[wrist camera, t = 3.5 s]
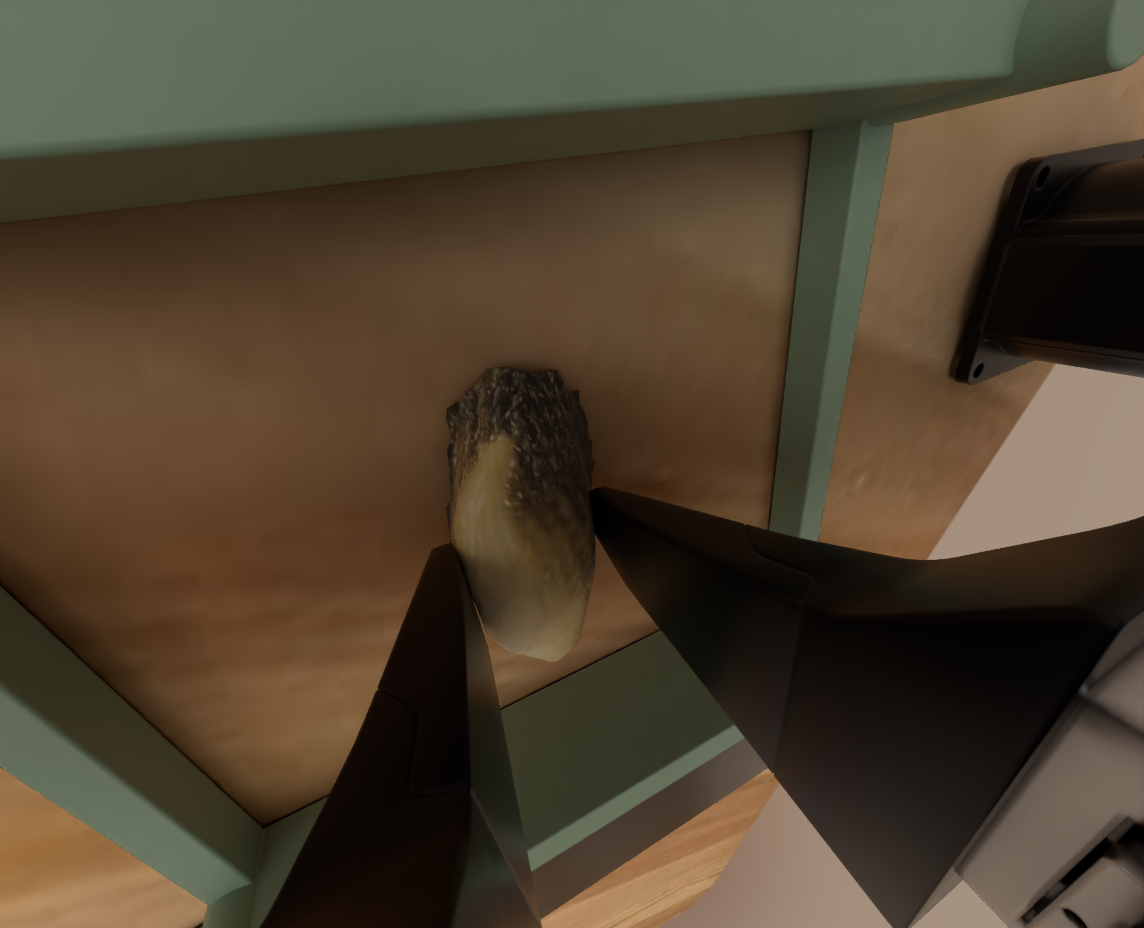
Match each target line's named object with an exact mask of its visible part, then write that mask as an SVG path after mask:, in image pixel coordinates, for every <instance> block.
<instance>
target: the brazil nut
mask: <svg viewBox="0 0 1144 928" xmlns="http://www.w3.org/2000/svg"><path fill="white" fill-rule="evenodd" d="M446 421H447V423H448V426H449V428H450V432H451V442H450V445H449V448H448V450H447V452H448V458H449V467H450V488H451V499H450V501H449V503H448V506H447V515H448V523H449V530H450V537H451V539H450V543H452V544H453V545H454V548H455V551H456V552H457V557H458V560H459V563H460V566H461V569H462V572H463V575H464V578H465V580H466V583H467V586H468V589H469V592H470V595H471V597H472V599H473V601H474V603H475V605H476V607H477V610H478V612H479V615H480V617H481V621H482V624H483V627H484V629H485V631H486V632H487V634H488V635H489V637H490V638H491V639H492V640H493V641H494V642H495V643H497V644H498V645H499V646H501V647H502V648H503V649H505V650H506V651H508V652H510V653H514V654H521V655H525V656H529V657H534V658H539V659H542V660H545V661H548V662H552V663H553V662H556V661H558V660H560V659H561V658H563V657H564V656H566V655H567V654H568V653H569V652H570V651H571V650H572V649H573V648H574V647H575V645H576V643H577V642H578V639H579V636H580V634H581V631H582V627H583V621H584V616H585V611H586V607H587V603H588V598H589V593H590V588H591V583H592V579H593V575H594V569H595V532H594V522H593V512H592V505H591V501H590V497H589V491H590V490H591V487H592V476H591V473H592V470H593V467H594V463H595V461H594V460H593V459H592V458H591V455H592V441H591V440H590V439H589V435H588V426H587V420H586V416H585V412H584V411H583V409H582V407H581V405H580V404H579V390H576V391H566V390H563V380H562V378H561V376H560V374H559V373H558V371H557V370H547V371H545V372H543V373H542V374H540V375H538V374H534V373H530V372H526V371H523V370H519V369H512V368H492V369H485V370H484V372H483V374H482V376H481V378H480V379H479V381H478V383H477V384H476V385H475V386H473V387H472V388H470V389H469V390H467V391H466V392H465V393H464V395H463V396H462V398H461V399H459V400H458V401H457V402H455V403H454V404H453V405H452V406H450V407H449V408H448V409H447V418H446Z"/></svg>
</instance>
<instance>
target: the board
mask: <svg viewBox="0 0 1144 928" xmlns="http://www.w3.org/2000/svg"><path fill="white" fill-rule="evenodd" d="M767 768H768V767H767V766H766V764H765V763H764V762H763V761H762V759H761V758H760V757H759V755H758V754H757V753H756V752H755V750H754V749H753V748H752V746H751V745H750V744H749V743H748V741H747V740H746V739H745V738H744V739H742V740H740V741H739V742H737V743H736V744H734V745H732V746H731V747H729V748H728V749H726V750H724V751H723V752H721V753H720V754H718V755H716V756H715V757H713V758H712V759H710V760H708V761H707V762H705V763H704V764H702V765H700V766H699V767H697V768H696V769H694V770H692V771H691V772H689V773H688V774H686V775H685V776H683V777H681V778H680V779H678V780H677V781H675V782H673V783H672V784H670V785H669V786H667V787H665V788H664V789H662V790H661V791H659V792H657V793H656V794H654V795H653V796H651V797H649V798H648V799H646V800H645V801H643V802H641V803H640V804H638V805H637V806H635V807H633V808H632V809H630V810H629V811H627V812H626V813H624V814H622V815H621V816H619V817H618V818H616V819H614V820H613V821H611V822H610V823H608V824H606V825H605V826H603V827H602V828H600V829H598V830H597V831H595V832H594V833H592V834H590V835H589V836H587V837H586V838H584V839H582V840H581V841H579V842H578V843H576V844H574V845H573V846H571V847H570V848H568V849H567V850H565V851H563V852H562V853H560V854H559V855H557V856H555V857H554V858H552V859H551V860H549V861H547V862H546V863H544V864H543V865H541V866H539V867H538V868H536V869H535V870H533V871H531V873H532V879H533V884H534V889H535V894H536V899H537V905H538V910H539V915H540V919H542V918H543V917H545V916H546V915H548V914H549V913H551V912H552V911H554V910H555V909H557V908H558V907H560V906H561V905H563V904H564V903H566V902H567V901H569V900H570V899H572V898H573V897H575V896H576V895H578V894H579V893H581V892H582V891H584V890H585V889H587V888H588V887H590V886H591V885H593V884H594V883H596V882H597V881H599V880H600V879H602V878H603V877H605V876H606V875H608V874H609V873H611V872H612V871H614V870H615V869H617V868H618V867H620V866H621V865H623V864H624V863H626V862H627V861H629V860H630V859H632V858H633V857H635V856H636V855H638V854H639V853H641V852H642V851H644V850H645V849H647V848H648V847H650V846H651V845H653V844H654V843H656V842H657V841H659V840H660V839H662V838H663V837H665V836H666V835H668V834H669V833H671V832H672V831H674V830H675V829H677V828H678V827H680V826H681V825H683V824H684V823H686V822H687V821H689V820H690V819H692V818H693V817H695V816H697V815H698V814H700V813H701V812H703V811H704V810H706V809H707V808H709V807H710V806H712V805H713V804H715V803H716V802H718V801H719V800H721V799H722V798H724V797H725V796H727V795H728V794H730V793H731V792H733V791H734V790H736V789H737V788H739V787H740V786H742V785H743V784H745V783H746V782H748V781H749V780H751V779H752V778H754V777H755V776H757V775H758V774H760V773H761V772H763V771H764V770H766V769H767ZM202 927H203V926H201V927H199V928H202Z"/></svg>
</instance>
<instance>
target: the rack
mask: <svg viewBox="0 0 1144 928" xmlns="http://www.w3.org/2000/svg"><path fill="white" fill-rule="evenodd" d="M1143 54H1144V0H0V223H8V222H16V221H25V220H33V219H42V218H51V217H59V216H68V215H77V214H85V213H94V212H102V211H111V210H120V209H128V208H137V207H146V206H154V205H163V204H172V203H180V202H189V201H197V200H206V199H215V198H223V197H232V196H241V195H249V194H258V193H266V192H275V191H284V190H292V189H301V188H310V187H318V186H327V185H336V184H344V183H353V182H361V181H370V180H379V179H387V178H396V177H405V176H413V175H422V174H430V173H439V172H448V171H456V170H465V169H474V168H482V167H491V166H500V165H508V164H517V163H525V162H534V161H543V160H551V159H560V158H569V157H577V156H586V155H594V154H603V153H612V152H620V151H629V150H638V149H646V148H655V147H663V146H672V145H681V144H689V143H698V142H707V141H715V140H724V139H733V138H741V137H750V136H758V135H767V134H776V133H784V132H793V131H802V130H810V129H812V131H813V134H812V142H811V151H810V160H809V169H808V178H807V187H806V197H805V206H804V215H803V224H802V233H801V242H800V252H799V261H798V270H797V279H796V288H795V297H794V307H793V316H792V325H791V334H790V343H789V352H788V362H787V371H786V380H785V389H784V398H783V407H782V417H781V426H780V435H779V444H778V453H777V462H776V472H775V481H774V490H773V499H772V508H771V517H770V527H769V530H770V531H774V532H778V533H782V534H786V535H790V536H794V537H799V538H803V539H808V540H812V541H817V542H818V538H819V532H820V527H821V521H822V516H823V510H824V505H825V499H826V494H827V488H828V483H829V477H830V472H831V466H832V461H833V455H834V450H835V444H836V439H837V433H838V428H839V422H840V417H841V411H842V406H843V400H844V395H845V389H846V384H847V378H848V373H849V367H850V362H851V356H852V351H853V345H854V340H855V334H856V329H857V323H858V318H859V312H860V307H861V301H862V296H863V290H864V285H865V279H866V274H867V268H868V263H869V257H870V252H871V246H872V241H873V235H874V230H875V224H876V219H877V213H878V208H879V202H880V197H881V191H882V186H883V180H884V175H885V169H886V164H887V158H888V153H889V147H890V142H891V136H892V131H893V125H894V123H898V122H902V121H907V120H911V119H915V118H919V117H924V116H928V115H932V114H936V113H941V112H945V111H949V110H953V109H958V108H962V107H966V106H970V105H975V104H979V103H983V102H987V101H992V100H996V99H1000V98H1005V97H1009V96H1013V95H1017V94H1022V93H1026V92H1030V91H1034V90H1039V89H1043V88H1047V87H1051V86H1056V85H1060V84H1064V83H1068V82H1073V81H1077V80H1081V79H1085V78H1090V77H1094V76H1098V75H1103V74H1107V73H1111V72H1115V71H1120V70H1122V69H1124V68H1126V67H1128V66H1130V65H1132V64H1133V63H1134V62H1136V61H1137V60H1138V59H1139V58H1140V57H1141V56H1142V55H1143ZM500 712H501V717H502V722H503V727H504V733H505V738H506V743H507V748H508V753H509V759H510V764H511V769H512V774H513V780H514V785H515V790H516V795H517V800H518V806H519V811H520V816H521V821H522V826H523V832H524V837H525V842H526V847H527V853H528V858H529V863H530V868H531V871H533V870H535V869H536V868H538V867H539V866H541V865H543V864H544V863H546V862H547V861H549V860H551V859H552V858H554V857H555V856H557V855H559V854H560V853H562V852H563V851H565V850H567V849H568V848H570V847H571V846H573V845H574V844H576V843H578V842H579V841H581V840H582V839H584V838H586V837H587V836H589V835H590V834H592V833H594V832H595V831H597V830H598V829H600V828H602V827H603V826H605V825H606V824H608V823H610V822H611V821H613V820H614V819H616V818H618V817H619V816H621V815H622V814H624V813H626V812H627V811H629V810H630V809H632V808H633V807H635V806H637V805H638V804H640V803H641V802H643V801H645V800H646V799H648V798H649V797H651V796H653V795H654V794H656V793H657V792H659V791H661V790H662V789H664V788H665V787H667V786H669V785H670V784H672V783H673V782H675V781H677V780H678V779H680V778H681V777H683V776H685V775H686V774H688V773H689V772H691V771H692V770H694V769H696V768H697V767H699V766H700V765H702V764H704V763H705V762H707V761H708V760H710V759H712V758H713V757H715V756H716V755H718V754H720V753H721V752H723V751H724V750H726V749H728V748H729V747H731V746H732V745H734V744H736V743H737V742H739V741H740V740H742V739H744V738H745V737H744V736H743V735H742V734H741V732H740V731H739V730H738V728H737V727H736V726H735V725H734V723H733V722H732V721H731V719H730V718H729V717H728V716H727V714H726V713H725V712H724V710H723V709H722V708H721V707H720V705H719V704H718V703H717V701H716V700H715V699H714V698H713V696H712V695H711V694H710V692H709V691H708V690H707V689H706V687H705V686H704V685H703V683H702V682H701V681H700V680H699V678H698V677H697V676H696V674H695V673H694V672H693V671H692V669H691V668H690V667H689V665H688V664H687V663H686V662H685V660H684V659H683V658H682V656H681V655H680V654H679V653H678V651H677V650H676V649H675V647H674V646H673V645H672V644H671V642H670V641H669V640H668V638H667V637H666V636H665V635H664V633H663V632H662V631H661V630H660V631H658V632H656V633H654V634H652V635H650V636H648V637H646V638H644V639H642V640H640V641H638V642H636V643H634V644H632V645H630V646H628V647H626V648H624V649H622V650H620V651H618V652H616V653H614V654H612V655H610V656H608V657H606V658H604V659H602V660H600V661H598V662H596V663H594V664H592V665H590V666H588V667H586V668H584V669H582V670H580V671H578V672H576V673H574V674H572V675H570V676H568V677H566V678H564V679H562V680H560V681H558V682H556V683H554V684H552V685H550V686H548V687H546V688H544V689H542V690H540V691H538V692H536V693H534V694H532V695H530V696H528V697H526V698H524V699H522V700H520V701H518V702H516V703H514V704H512V705H510V706H508V707H506V708H504V709H502V710H500ZM0 768H2V769H3V770H5V771H7V772H8V773H10V774H11V775H13V776H14V777H16V778H17V779H19V780H20V781H22V782H23V783H25V784H26V785H28V786H29V787H31V788H32V789H34V790H35V791H37V792H38V793H40V794H41V795H43V796H44V797H46V798H47V799H49V800H50V801H52V802H53V803H55V804H56V805H58V806H59V807H61V808H62V809H64V810H65V811H67V812H68V813H70V814H71V815H73V816H74V817H76V818H78V819H79V820H81V821H82V822H84V823H85V824H87V825H88V826H90V827H91V828H93V829H94V830H96V831H97V832H99V833H100V834H102V835H103V836H105V837H106V838H108V839H109V840H111V841H112V842H114V843H115V844H117V845H118V846H120V847H121V848H123V849H124V850H126V851H127V852H129V853H130V854H132V855H133V856H135V857H136V858H138V859H139V860H141V861H142V862H144V863H145V864H147V865H148V866H150V867H152V868H153V869H155V870H156V871H158V872H159V873H161V874H162V875H164V876H165V877H167V878H168V879H170V880H171V881H173V882H174V883H176V884H177V885H179V886H180V887H182V888H183V889H185V890H186V891H188V892H189V893H191V894H192V895H194V896H195V897H197V898H198V899H200V900H201V901H203V902H204V903H206V904H207V910H206V914H205V918H204V923H203V927H202V928H259V926H260V925H261V923H262V921H263V920H264V918H265V917H266V915H267V913H268V911H269V910H270V908H271V906H272V904H273V902H274V900H275V899H276V897H277V895H278V893H279V891H280V889H281V887H282V885H283V883H284V881H285V879H286V878H287V876H288V874H289V872H290V870H291V868H292V866H293V864H294V862H295V860H296V858H297V856H298V854H299V852H300V850H301V848H302V846H303V844H304V842H305V841H306V839H307V837H308V835H309V833H310V831H311V829H312V827H313V825H314V823H315V821H316V819H317V817H318V815H319V813H320V811H321V809H322V807H323V805H324V804H325V802H326V800H327V798H328V797H326V798H324V799H322V800H320V801H318V802H316V803H314V804H312V805H310V806H308V807H306V808H304V809H302V810H300V811H298V812H296V813H294V814H292V815H290V816H288V817H286V818H284V819H282V820H280V821H278V822H276V823H274V824H272V825H270V826H268V827H266V828H262V827H261V826H260V825H259V824H257V823H256V822H255V821H254V820H253V819H252V818H251V817H250V816H249V815H248V814H247V813H246V812H244V811H243V810H242V809H241V808H240V807H239V806H238V805H237V804H236V803H235V802H234V801H233V800H231V799H230V798H229V797H228V796H227V795H226V794H225V793H224V792H223V791H222V790H221V789H220V788H218V787H217V786H216V785H215V784H214V783H213V782H212V781H211V780H210V779H209V778H208V777H207V776H205V775H204V774H203V773H202V772H201V771H200V770H199V769H198V768H197V767H196V766H195V765H194V764H192V763H191V762H190V761H189V760H188V759H187V758H186V757H185V756H184V755H183V754H182V753H181V752H180V751H178V750H177V749H176V748H175V747H174V746H173V745H172V744H171V743H170V742H169V741H168V740H167V739H165V738H164V737H163V736H162V735H161V734H160V733H159V732H158V731H157V730H156V729H155V728H154V727H152V726H151V725H150V724H149V723H148V722H147V721H146V720H145V719H144V718H143V717H142V716H141V715H139V714H138V713H137V712H136V711H135V710H134V709H133V708H132V707H131V706H130V705H129V704H128V703H126V702H125V701H124V700H123V699H122V698H121V697H120V696H119V695H118V694H117V693H116V692H115V691H113V690H112V689H111V688H110V687H109V686H108V685H107V684H106V683H105V682H104V681H103V680H102V679H101V678H99V677H98V676H97V675H96V674H95V673H94V672H93V671H92V670H91V669H90V668H89V667H88V666H86V665H85V664H84V663H83V662H82V661H81V660H80V659H79V658H78V657H77V656H76V655H75V654H73V653H72V652H71V651H70V650H69V649H68V648H67V647H66V646H65V645H64V644H63V643H62V642H60V641H59V640H58V639H57V638H56V637H55V636H54V635H53V634H52V633H51V632H50V631H49V630H47V629H46V628H45V627H44V626H43V625H42V624H41V623H40V622H39V621H38V620H37V619H36V618H34V617H33V616H32V615H31V614H30V613H29V612H28V611H27V610H26V609H25V608H24V607H23V606H22V605H20V604H19V603H18V602H17V601H16V600H15V599H14V598H13V597H12V596H11V595H10V594H9V593H7V592H6V591H5V590H4V589H3V588H2V587H1V586H0Z"/></svg>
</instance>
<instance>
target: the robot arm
mask: <svg viewBox="0 0 1144 928" xmlns="http://www.w3.org/2000/svg"><path fill="white" fill-rule="evenodd" d="M1033 360H1039V361H1045V362H1051V363H1057V364H1063V365H1070V366H1076V367H1082V368H1088V369H1095V370H1100V371H1106V372H1112V373H1118V374H1125V375H1131V376H1137V377H1143V378H1144V139H1139V140H1133V141H1127V142H1121V143H1116V144H1110V145H1105V146H1099V147H1093V148H1088V149H1082V150H1076V151H1071V152H1065V153H1059V154H1054V155H1048V156H1043V157H1037V158H1031V159H1029V160H1027V161H1026V162H1025V163H1024V164H1023V165H1022V166H1021V168H1020V170H1019V171H1018V173H1017V175H1016V178H1015V180H1014V183H1013V186H1012V189H1011V192H1010V196H1009V199H1008V202H1007V206H1006V209H1005V212H1004V215H1003V219H1002V222H1001V225H1000V228H999V232H998V235H997V238H996V241H995V245H994V248H993V251H992V254H991V258H990V261H989V264H988V267H987V271H986V274H985V277H984V280H983V284H982V287H981V290H980V293H979V297H978V300H977V303H976V307H975V310H974V313H973V316H972V320H971V323H970V326H969V329H968V333H967V336H966V339H965V342H964V346H963V349H962V352H961V355H960V359H959V362H958V365H957V368H956V372H955V381H957V382H959V383H963V384H968V385H974V384H977V383H979V382H982V381H984V380H987V379H989V378H992V377H994V376H997V375H999V374H1001V373H1004V372H1006V371H1009V370H1011V369H1014V368H1016V367H1019V366H1021V365H1024V364H1026V363H1029V362H1031V361H1033ZM589 497H590V501H591V505H592V512H593V522H594V532H595V535H596V536H597V538H598V540H599V541H600V543H601V545H602V546H603V548H604V550H605V551H606V553H607V555H608V556H609V558H610V560H611V561H612V563H613V565H614V566H615V568H616V570H617V571H618V573H619V575H620V576H621V578H622V579H623V581H624V583H625V584H626V585H627V587H628V588H629V590H630V591H631V592H632V594H633V595H634V596H635V597H636V599H637V600H638V601H639V603H640V604H641V605H642V606H643V608H644V609H645V610H646V612H647V613H648V614H649V615H650V617H651V618H652V619H653V621H654V622H655V623H656V624H657V626H658V627H659V628H660V629H661V631H662V632H663V633H664V635H665V636H666V637H667V638H668V640H669V641H670V642H671V644H672V645H673V646H674V647H675V649H676V650H677V651H678V653H679V654H680V655H681V656H682V658H683V659H684V660H685V662H686V663H687V664H688V665H689V667H690V668H691V669H692V671H693V672H694V673H695V674H696V676H697V677H698V678H699V680H700V681H701V682H702V683H703V685H704V686H705V687H706V689H707V690H708V691H709V692H710V694H711V695H712V696H713V698H714V699H715V700H716V701H717V703H718V704H719V705H720V707H721V708H722V709H723V710H724V712H725V713H726V714H727V716H728V717H729V718H730V719H731V721H732V722H733V723H734V725H735V726H736V727H737V728H738V730H739V731H740V732H741V734H742V735H743V736H744V737H745V739H746V740H747V741H748V743H749V744H750V745H751V746H752V748H753V749H754V750H755V752H756V753H757V754H758V755H759V757H760V758H761V759H762V761H763V762H764V763H765V764H766V766H767V767H768V768H769V770H770V771H771V772H772V773H774V776H775V778H776V779H777V780H778V782H779V783H780V784H781V785H782V787H783V788H784V789H785V790H786V792H787V793H788V794H789V796H790V797H791V798H792V799H793V801H794V802H795V803H796V805H797V806H798V807H799V808H800V810H801V811H802V812H803V813H804V815H805V816H806V817H807V819H808V820H809V821H810V823H811V824H812V825H813V826H814V827H815V829H816V830H817V832H818V833H819V834H820V835H821V836H822V838H823V839H824V841H825V842H826V843H827V844H828V846H829V847H830V848H831V850H832V851H833V852H834V853H835V855H836V856H837V857H838V859H839V860H840V861H841V862H842V864H843V865H844V866H845V868H846V869H847V870H848V871H849V873H850V874H851V875H852V876H853V878H854V879H855V880H856V882H857V883H858V884H859V886H860V887H861V888H862V889H863V891H864V892H865V893H866V895H867V896H868V897H869V898H870V900H871V901H872V902H873V903H874V905H875V906H876V907H877V909H878V910H879V911H880V913H881V914H882V915H883V916H884V918H885V919H886V920H887V921H888V923H889V924H890V925H891V926H892V927H893V928H911V927H912V926H913V925H915V924H916V923H917V922H918V921H919V920H920V919H921V918H922V917H923V916H924V915H925V914H926V913H928V912H929V911H930V910H931V909H932V908H933V907H934V906H935V905H936V904H937V903H938V902H939V901H941V900H942V899H943V898H944V897H945V896H946V895H947V894H948V893H949V892H950V891H951V890H952V889H954V888H955V886H957V885H958V884H959V883H960V882H961V881H962V880H964V881H965V882H966V883H967V884H968V885H969V886H970V888H972V890H973V891H974V892H975V893H976V894H977V895H978V896H979V897H980V898H981V899H982V900H983V901H984V902H985V903H986V904H987V905H988V906H989V907H990V908H991V909H992V910H993V911H994V912H995V913H996V914H997V916H998V917H999V918H1000V919H1001V920H1002V921H1003V922H1004V923H1005V924H1006V925H1007V926H1008V927H1009V928H1144V516H1142V517H1139V518H1136V519H1133V520H1130V521H1127V522H1123V523H1119V524H1115V525H1112V526H1108V527H1103V528H1099V529H1094V530H1091V531H1085V532H1080V533H1075V534H1070V535H1065V536H1060V537H1055V538H1050V539H1045V540H1040V541H1035V542H1030V543H1025V544H1020V545H1015V546H1010V547H1005V548H1000V549H995V550H990V551H985V552H980V553H975V554H970V555H964V556H960V557H955V558H949V559H939V560H913V559H904V558H898V557H892V556H887V555H882V554H877V553H872V552H867V551H862V550H857V549H852V548H847V547H842V546H837V545H832V544H827V543H822V542H817V541H812V540H808V539H803V538H799V537H794V536H790V535H786V534H782V533H778V532H774V531H770V530H766V529H762V528H758V527H755V526H751V525H745V526H744V524H743V523H740V522H736V521H732V520H729V519H725V518H721V517H718V516H714V515H710V514H706V513H703V512H699V511H695V510H692V509H688V508H684V507H681V506H677V505H673V504H670V503H666V502H662V501H659V500H655V499H651V498H648V497H644V496H640V495H637V494H633V493H629V492H626V491H622V490H618V489H615V488H611V487H607V486H601V487H598V488H596V489H593V490H590V491H589ZM259 928H542V925H541V920H540V915H539V910H538V905H537V899H536V894H535V889H534V884H533V879H532V873H531V868H530V863H529V858H528V853H527V847H526V842H525V837H524V832H523V826H522V821H521V816H520V811H519V806H518V800H517V795H516V790H515V785H514V780H513V774H512V769H511V764H510V759H509V753H508V748H507V743H506V738H505V733H504V727H503V722H502V717H501V712H500V707H499V701H498V696H497V691H496V686H495V680H494V675H493V670H492V665H491V660H490V655H489V650H488V646H487V642H486V639H485V636H484V633H483V630H482V627H481V624H480V621H479V618H478V615H477V612H476V609H475V606H474V603H473V600H472V597H471V595H470V592H469V589H468V586H467V583H466V580H465V578H464V575H463V572H462V569H461V566H460V563H459V560H458V557H457V554H456V551H455V548H454V545H453V544H452V543H447V544H444V545H442V546H439V547H436V548H434V549H432V550H431V552H430V555H429V557H428V560H427V562H426V565H425V568H424V570H423V573H422V575H421V578H420V580H419V583H418V585H417V588H416V590H415V593H414V596H413V598H412V601H411V603H410V606H409V608H408V611H407V613H406V616H405V618H404V621H403V624H402V626H401V629H400V631H399V634H398V636H397V639H396V641H395V644H394V647H393V649H392V652H391V654H390V657H389V659H388V662H387V664H386V667H385V669H384V672H383V675H382V677H381V680H380V682H379V685H378V690H377V691H376V692H375V694H374V697H373V699H372V702H371V705H370V707H369V710H368V712H367V714H366V717H365V719H364V722H363V724H362V726H361V729H360V731H359V733H358V736H357V738H356V740H355V743H354V745H353V747H352V749H351V751H350V753H349V755H348V757H347V759H346V761H345V763H344V766H343V768H342V770H341V772H340V774H339V776H338V778H337V780H336V782H335V784H334V786H333V788H332V790H331V792H330V794H329V796H328V798H327V800H326V802H325V804H324V805H323V807H322V809H321V811H320V813H319V815H318V817H317V819H316V821H315V823H314V825H313V827H312V829H311V831H310V833H309V835H308V837H307V839H306V841H305V842H304V844H303V846H302V848H301V850H300V852H299V854H298V856H297V858H296V860H295V862H294V864H293V866H292V868H291V870H290V872H289V874H288V876H287V878H286V879H285V881H284V883H283V885H282V887H281V889H280V891H279V893H278V895H277V897H276V899H275V900H274V902H273V904H272V906H271V908H270V910H269V911H268V913H267V915H266V917H265V918H264V920H263V921H262V923H261V925H260V926H259Z"/></svg>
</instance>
